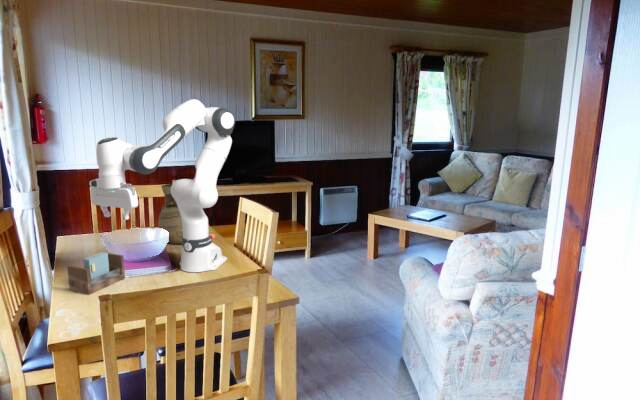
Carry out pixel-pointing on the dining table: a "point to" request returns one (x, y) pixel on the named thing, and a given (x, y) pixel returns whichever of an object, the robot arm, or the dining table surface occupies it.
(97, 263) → the door panel
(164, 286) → the dining table surface
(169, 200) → the ceramic vessel
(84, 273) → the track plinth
